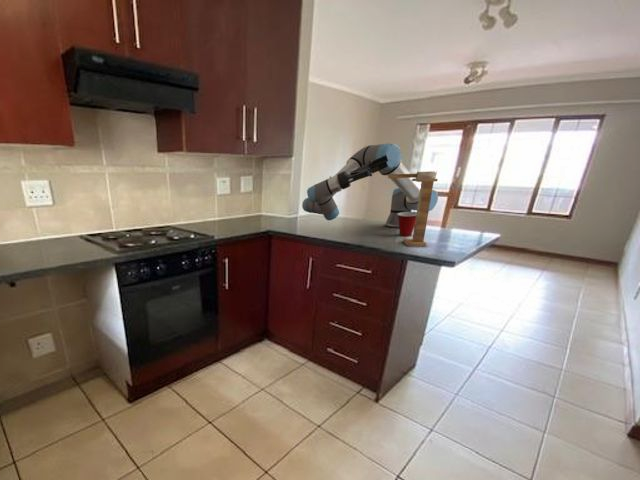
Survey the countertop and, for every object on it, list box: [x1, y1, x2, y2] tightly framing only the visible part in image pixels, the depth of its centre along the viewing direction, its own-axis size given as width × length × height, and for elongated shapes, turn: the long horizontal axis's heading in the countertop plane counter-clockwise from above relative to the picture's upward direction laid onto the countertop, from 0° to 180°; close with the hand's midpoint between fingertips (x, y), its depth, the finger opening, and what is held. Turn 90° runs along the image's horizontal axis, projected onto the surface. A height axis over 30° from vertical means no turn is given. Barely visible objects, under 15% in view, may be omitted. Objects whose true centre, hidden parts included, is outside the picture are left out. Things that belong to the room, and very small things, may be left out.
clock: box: [387, 170, 438, 179], centre depth 152 cm, size 8×20×3 cm, turn 78°
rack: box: [402, 178, 439, 247], centre depth 157 cm, size 10×8×30 cm
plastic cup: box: [397, 211, 417, 237], centre depth 180 cm, size 11×11×12 cm
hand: (387, 160), depth 144 cm, fingers open, 13 cm apart
